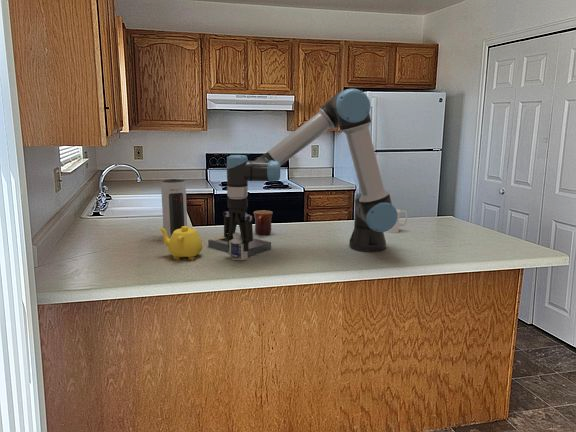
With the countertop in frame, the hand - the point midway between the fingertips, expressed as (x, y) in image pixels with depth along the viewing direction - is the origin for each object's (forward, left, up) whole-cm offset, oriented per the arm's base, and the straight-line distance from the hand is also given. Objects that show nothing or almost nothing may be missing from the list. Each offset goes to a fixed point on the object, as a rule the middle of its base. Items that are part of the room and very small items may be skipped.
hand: (238, 257), depth 184 cm
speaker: (+42, -4, -1) cm, 42 cm away
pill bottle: (0, 0, -1) cm, 1 cm away
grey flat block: (+10, -11, 0) cm, 15 cm away
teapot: (+19, +12, -1) cm, 23 cm away
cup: (-24, -81, -1) cm, 84 cm away
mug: (+18, -34, -1) cm, 38 cm away
